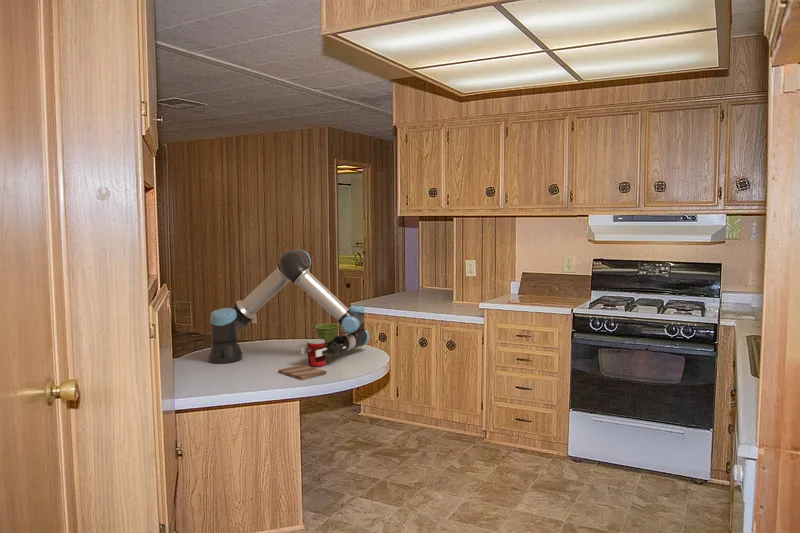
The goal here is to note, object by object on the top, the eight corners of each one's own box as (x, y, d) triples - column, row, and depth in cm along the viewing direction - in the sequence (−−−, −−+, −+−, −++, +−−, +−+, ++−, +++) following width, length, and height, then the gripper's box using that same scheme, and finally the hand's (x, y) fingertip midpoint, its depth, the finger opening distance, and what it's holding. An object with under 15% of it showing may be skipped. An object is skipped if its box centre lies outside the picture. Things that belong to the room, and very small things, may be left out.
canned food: (311, 362, 273) (310, 338, 272) (328, 363, 272) (327, 339, 271) (305, 367, 266) (304, 342, 265) (322, 367, 264) (321, 342, 263)
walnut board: (278, 372, 259) (278, 369, 259) (301, 366, 267) (301, 364, 267) (302, 380, 246) (302, 377, 245) (326, 374, 254) (326, 371, 254)
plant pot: (311, 348, 302) (310, 326, 301) (328, 344, 311) (328, 322, 310) (327, 351, 294) (326, 329, 293) (345, 347, 303) (344, 325, 302)
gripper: (361, 353, 277) (326, 364, 258) (327, 348, 289) (292, 358, 271) (360, 337, 276) (325, 347, 258) (327, 332, 288) (291, 341, 270)
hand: (308, 352), depth 264 cm, fingers closed on canned food, 8 cm apart
